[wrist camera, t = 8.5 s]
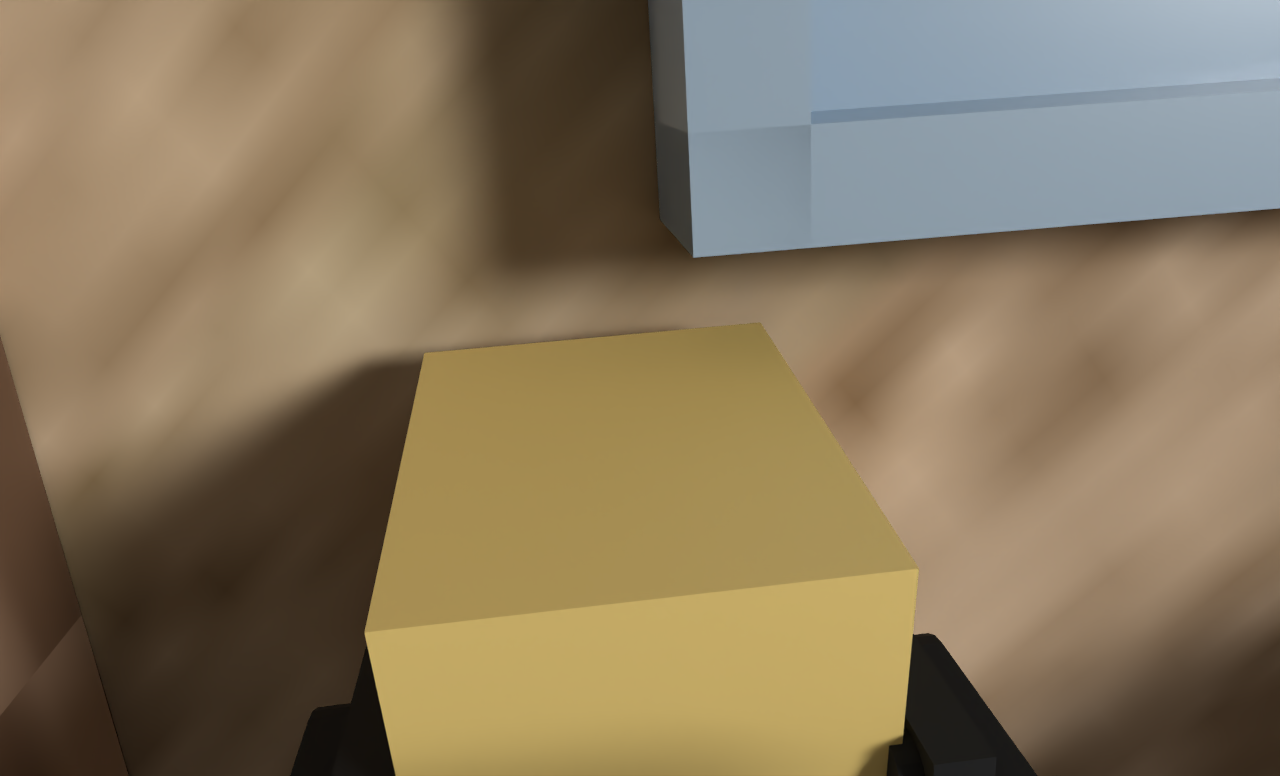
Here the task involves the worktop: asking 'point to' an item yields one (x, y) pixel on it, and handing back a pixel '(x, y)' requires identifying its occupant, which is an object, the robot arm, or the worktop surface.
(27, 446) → the socket block
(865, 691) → the block
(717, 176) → the tray
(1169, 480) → the worktop surface
